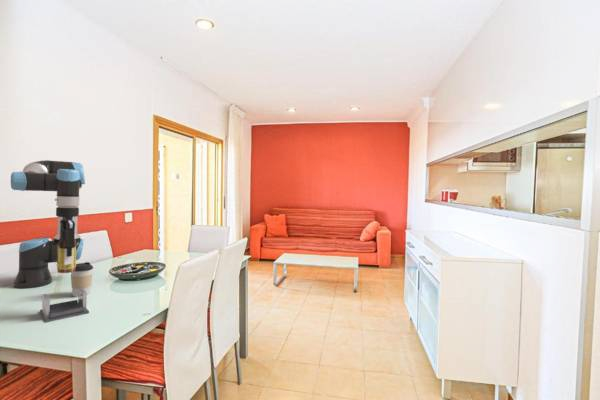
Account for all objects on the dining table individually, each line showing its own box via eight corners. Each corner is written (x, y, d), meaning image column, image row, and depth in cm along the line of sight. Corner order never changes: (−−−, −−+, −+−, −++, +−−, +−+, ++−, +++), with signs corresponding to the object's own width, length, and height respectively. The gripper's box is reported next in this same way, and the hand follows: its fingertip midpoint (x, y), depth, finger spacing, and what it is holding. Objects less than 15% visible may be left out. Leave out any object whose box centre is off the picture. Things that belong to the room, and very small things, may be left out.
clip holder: (40, 311, 129) (40, 292, 129) (80, 303, 139) (80, 286, 139) (45, 322, 120) (46, 302, 119) (88, 313, 130) (89, 294, 130)
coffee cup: (80, 298, 145) (81, 266, 145) (64, 296, 147) (65, 265, 146) (97, 292, 154) (97, 262, 153) (81, 290, 156) (82, 261, 155)
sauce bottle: (63, 269, 132) (64, 222, 132) (79, 269, 133) (80, 223, 132) (52, 273, 126) (53, 224, 125) (69, 274, 126) (70, 225, 126)
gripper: (51, 205, 132) (50, 259, 133) (61, 208, 119) (60, 268, 120) (73, 205, 138) (72, 257, 138) (84, 208, 125) (83, 265, 125)
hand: (66, 262), depth 129 cm, fingers closed on sauce bottle, 6 cm apart
